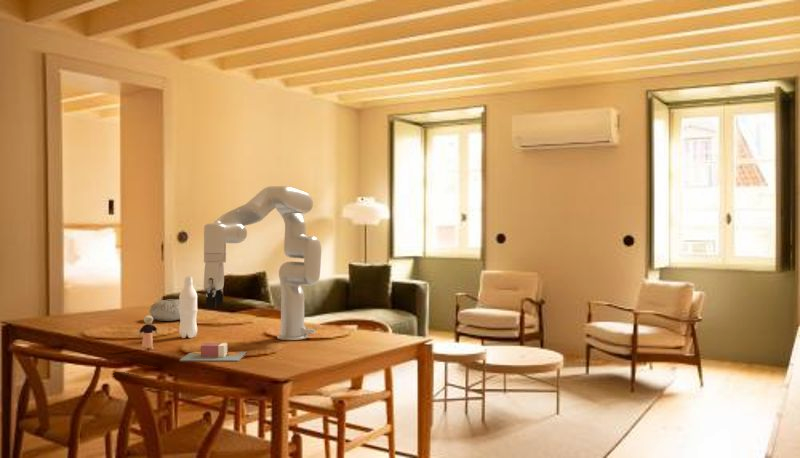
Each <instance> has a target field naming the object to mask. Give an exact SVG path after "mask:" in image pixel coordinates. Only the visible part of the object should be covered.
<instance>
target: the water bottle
mask: <svg viewBox="0 0 800 458" xmlns="http://www.w3.org/2000/svg"><path fill="white" fill-rule="evenodd" d="M193 282H194V281H193V276H184V282H183V283H184V285H183V288H182V289H181V291H180V294H179V297H178V299H179V300H180V309H179V313H180V320H179V321H180V322H179V327H178V332H179V335H180V337H181V338H182V339H186V338H187V337H188V339H192V338H196V336H197V334H198V325H197V316H198V315H197V314H198V294H197V291H196V289H195V288H194V285H193Z"/></svg>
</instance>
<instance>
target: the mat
mask: <svg viewBox="0 0 800 458" xmlns="http://www.w3.org/2000/svg"><path fill="white" fill-rule="evenodd" d="M236 352H237V353H239V354H240V353H241V354H240V355H229V356H225V357H201V354H195V353H190V352H189V353H187V354H186V355H185V356H183V357H181V358H180V359H179V362H230V363H231V362H234V363H235V362H240V361H241V359H242V358H244V356H245V355H244V354H245V353H246V352H247V351H236ZM243 355H244V356H243Z"/></svg>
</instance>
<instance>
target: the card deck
mask: <svg viewBox="0 0 800 458" xmlns="http://www.w3.org/2000/svg"><path fill="white" fill-rule="evenodd" d="M200 352H201V357H225V356H226V355H227V352H228V342H204V343H203V344H201V345H200Z"/></svg>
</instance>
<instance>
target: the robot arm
mask: <svg viewBox="0 0 800 458" xmlns="http://www.w3.org/2000/svg"><path fill="white" fill-rule="evenodd" d="M313 206H314V201H313V197H312V196H311V195H310V194H309V193H308V192H305V191H302V190H299V189H296V188H294V187H291V186H288V185H274V186H273V185H271V186H266V187H264V188H263V189H262V190H260V191H259V192H258V193H256V195H255V196H253V197H252V198H251V199H250V200H249V201H247V202H246V203H245V204H242V205H240V206H238V207H236V208H234V209H231V210H229V211H228V212H227V211H226V213H224V214H222V215H221V216H220V217H219V218H217V219H216V220H214V222H213V223H210V222H209V223H206V224H205V225H204V226H203V263H204V264H205V265H204V269H203V270H204V274H203V290H204V291H205V292H206V293H205V296H206V297H205V299H206V300H205V301H206V302H205V303H206V304H205V305H206V306H205V307H206V309H216V308H217V305H218V306H221V305H223V304H224V285H225V271H224V270H225V267H224V263H226V262H227V244H239V243H242V242H243V241H245V240H246V238H247V236H248V230H247V229H246V226H249V225H253V224H257V223H259V222H261V221H263V219H264V218H265V217H267V216H268V215H269V214H270V213H271V212H272V211H273V210H274V209H275V210H276V211H277V212H278V213H279V214H280V216H281V217H282V219H283V222H284V240H283V241H284V242H283V243H284V244H283V251H284V255H285V256H286V257H288V258H291V259H302V260H303V261H286V262H284V263H282V264H281V265H280V267H279V268H278V269H279V270H278V277H279V283H280V293H281V294H280V296H281V297H280V333H279V334H277V335H276V338H277V339H278V340H283V341H299V340H307V338H309V336H308V335H309V334H311V335H315V333H316V330H315V328H306V327H307V326H306V325H305V291H304V289H303V287H302V286H305V287H306V286H308V287H309V286H310V287H311V286H315V285H317V283H318V282H319V280H320V276H321V264H322V263H321V262H322V245H321V241H320V240H319V239H318V237H317V236H313V235H307V234H306V228H307V227H306V220H305V218H304V217H303V215H304V214H308V213H309V212H311V211H312V210H313Z"/></svg>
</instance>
